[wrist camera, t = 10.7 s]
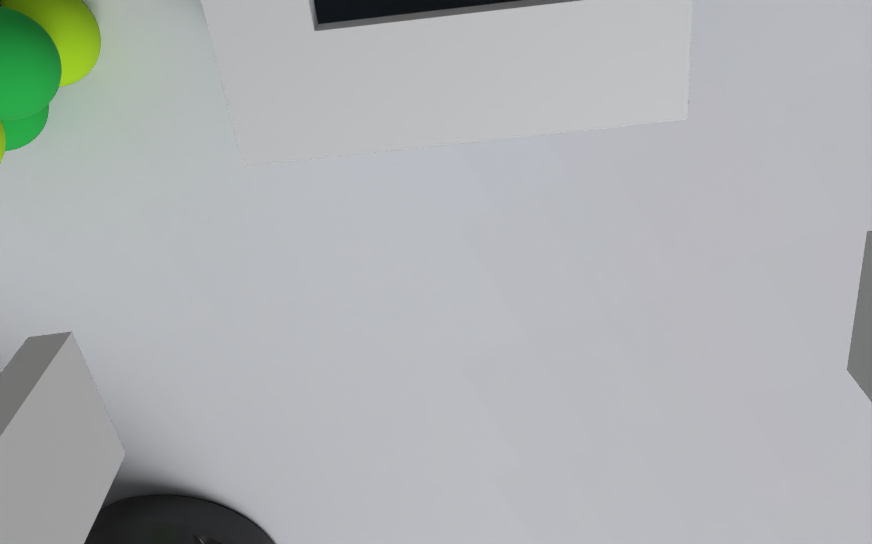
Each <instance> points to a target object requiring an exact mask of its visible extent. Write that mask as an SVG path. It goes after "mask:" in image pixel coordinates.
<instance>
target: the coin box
mask: <svg viewBox="0 0 872 544" xmlns="http://www.w3.org/2000/svg"><path fill="white" fill-rule="evenodd" d="M201 3H202V7H203V11H204V15H205V19H206V23H207V27H208V30H209V34H210V38H211V42H212V46H213V50H214V54H215V58H216V62H217V66H218V70H219V74H220V78H221V82H222V86H223V89H224V93H225V97H226V101H227V105H228V109H229V113H230V117H231V121H232V125H233V129H234V133H235V137H236V141H237V145H238V148H239V152H240V156H241V160H242V164H243V167H246V166H255V165H265V164H274V163H283V162H293V161H302V160H312V159H321V158H330V157H340V156H349V155H358V154H368V153H377V152H387V151H396V150H405V149H415V148H424V147H434V146H443V145H452V144H462V143H471V142H480V141H490V140H499V139H509V138H518V137H527V136H537V135H546V134H556V133H565V132H574V131H584V130H593V129H602V128H612V127H621V126H631V125H640V124H649V123H659V122H668V121H678V120H687V110H688V89H689V69H690V49H691V28H692V8H693V0H201Z"/></svg>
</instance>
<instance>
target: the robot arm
mask: <svg viewBox="0 0 872 544" xmlns="http://www.w3.org/2000/svg"><path fill="white" fill-rule="evenodd" d="M847 370H848V372H849V373H850V374H851V376H852V377H853V378H854V380H855V381H856V382H857V383H858V385H859V386H860V387H861V389H862V390H863V391H864V393H865V394H866V395H867V396H868V398H869V399H870V400H871V402H872V231H867V236H866V243H865V250H864V257H863V264H862V271H861V277H860V284H859V291H858V298H857V305H856V311H855V318H854V325H853V332H852V339H851V345H850V352H849V359H848V366H847ZM125 455H126V453H125V451H124V448H123V446H122V444H121V442H120V439H119V437H118V435H117V433H116V430H115V428H114V426H113V423H112V421H111V419H110V417H109V414H108V412H107V410H106V408H105V405H104V403H103V401H102V399H101V396H100V394H99V392H98V390H97V387H96V385H95V383H94V380H93V378H92V376H91V374H90V371H89V369H88V367H87V365H86V362H85V360H84V358H83V356H82V353H81V351H80V349H79V346H78V344H77V342H76V340H75V337H74V335H73V333H72V332H66V333H58V334H50V335H42V336H34V337H28V338H27V340H26V341H25V342H24V344H23V345H22V346H21V348H20V349H19V350H18V351H17V353H16V354H15V355H14V357H13V358H12V359H11V361H10V362H9V363H8V365H7V366H6V367H5V369H4V370H3V371H2V372H1V374H0V544H274V543H273V542H272V540H271V539H270V538H269V537H268V536H267V535H266V534H265V533H264V532H263V531H262V530H261V529H260V528H258V527H257V526H256V525H254V524H253V523H252V522H250V521H249V520H247V519H246V518H244V517H242V516H241V515H239V514H237V513H235V512H233V511H231V510H229V509H226V508H224V507H221V506H219V505H216V504H213V503H210V502H206V501H202V500H198V499H194V498H188V497H181V496H169V495H154V496H142V497H136V498H131V499H126V500H123V501H120V502H117V503H114V504H111V505H109V506H107V507H105V508H103V509H101V510H100V508H101V506H102V504H103V502H104V500H105V498H106V495H107V493H108V491H109V489H110V487H111V485H112V483H113V480H114V478H115V476H116V474H117V472H118V470H119V468H120V465H121V463H122V461H123V459H124V457H125Z"/></svg>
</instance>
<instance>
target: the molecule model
mask: <svg viewBox="0 0 872 544" xmlns="http://www.w3.org/2000/svg"><path fill="white" fill-rule="evenodd" d="M100 47H101V37H100V31H99V27H98V24H97V22H96V19H95V17H94V16H93V14H92V12H91V11H90V10H89V8H88V7H87V6H86V5H85V4H84V3H83V2H82V1H81V0H0V162H1V160H2V158H3V155H4V152H5V151H9V150H14V149H17V148H20V147H22V146H25V145H26V144H28V143H30V142H31V141H33V140H34V139H35V138H36V137H37V136H38V135H39V134H40V132H41V131H42V129H43V128H44V126H45V124H46V121H47V118H48V111H49V102H50V101H51V100H52V99H53V97H54V96H55V94H56V92H57V90H58V88H59V87H61V86H66V85H69V84H72V83H75V82H77V81H79V80H80V79H82V78H83V77H84V76H86V75H87V74H88V73H89V72H90V71H91V69H92V68H93V67H94V65H95V63H96V61H97V59H98V56H99V53H100Z"/></svg>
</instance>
